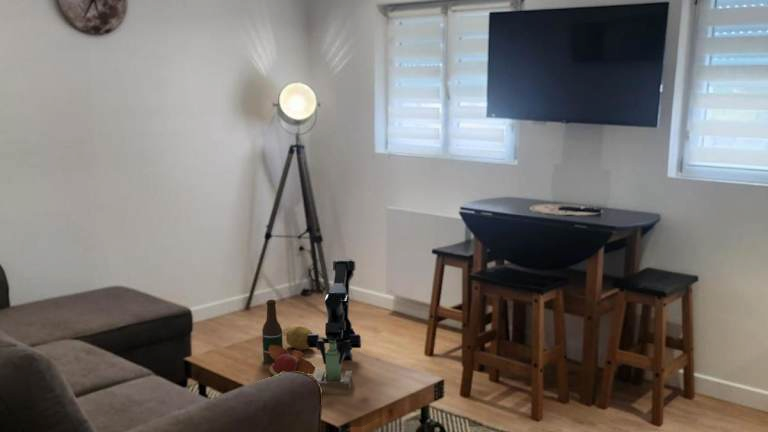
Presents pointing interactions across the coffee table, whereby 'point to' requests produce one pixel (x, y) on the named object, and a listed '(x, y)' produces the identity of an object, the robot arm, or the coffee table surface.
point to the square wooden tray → (335, 384)
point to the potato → (298, 337)
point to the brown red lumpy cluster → (289, 360)
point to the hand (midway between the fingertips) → (332, 363)
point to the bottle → (332, 362)
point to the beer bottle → (271, 332)
